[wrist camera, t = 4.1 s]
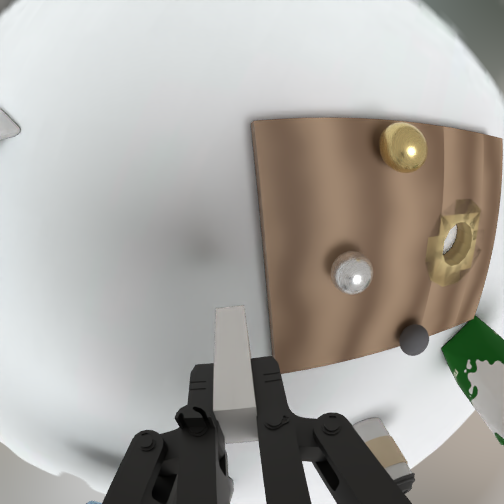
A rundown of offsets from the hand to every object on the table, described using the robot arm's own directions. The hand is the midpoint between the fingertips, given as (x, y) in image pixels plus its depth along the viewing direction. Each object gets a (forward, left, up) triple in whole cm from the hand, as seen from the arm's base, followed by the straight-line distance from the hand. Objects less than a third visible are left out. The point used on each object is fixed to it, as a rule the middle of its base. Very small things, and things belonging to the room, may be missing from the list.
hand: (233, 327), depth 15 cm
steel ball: (+9, 0, -5) cm, 10 cm away
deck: (+16, 0, -9) cm, 18 cm away
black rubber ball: (+17, -9, -5) cm, 20 cm away
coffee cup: (+17, -33, -9) cm, 38 cm away
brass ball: (+13, +9, -4) cm, 16 cm away
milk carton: (+32, -18, -9) cm, 38 cm away
